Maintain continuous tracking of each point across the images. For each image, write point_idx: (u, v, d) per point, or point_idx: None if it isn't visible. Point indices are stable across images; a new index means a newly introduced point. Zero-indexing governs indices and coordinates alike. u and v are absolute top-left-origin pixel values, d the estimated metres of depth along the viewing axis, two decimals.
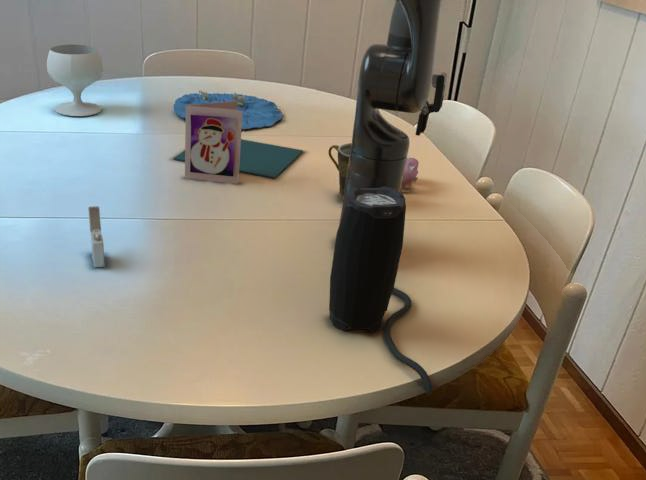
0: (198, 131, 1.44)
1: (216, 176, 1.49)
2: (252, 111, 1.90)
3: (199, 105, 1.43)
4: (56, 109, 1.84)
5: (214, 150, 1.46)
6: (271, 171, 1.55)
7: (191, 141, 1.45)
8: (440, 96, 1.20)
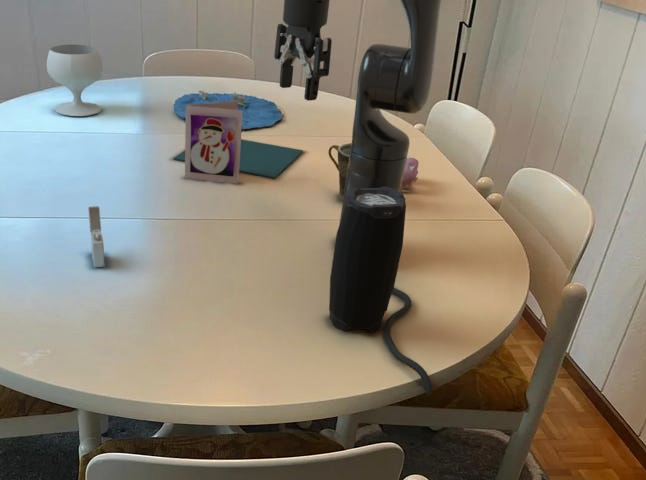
0: (198, 131, 1.44)
1: (216, 176, 1.49)
2: (252, 111, 1.90)
3: (199, 105, 1.43)
4: (56, 109, 1.84)
5: (214, 150, 1.46)
6: (271, 171, 1.55)
7: (191, 141, 1.45)
8: (317, 60, 1.18)
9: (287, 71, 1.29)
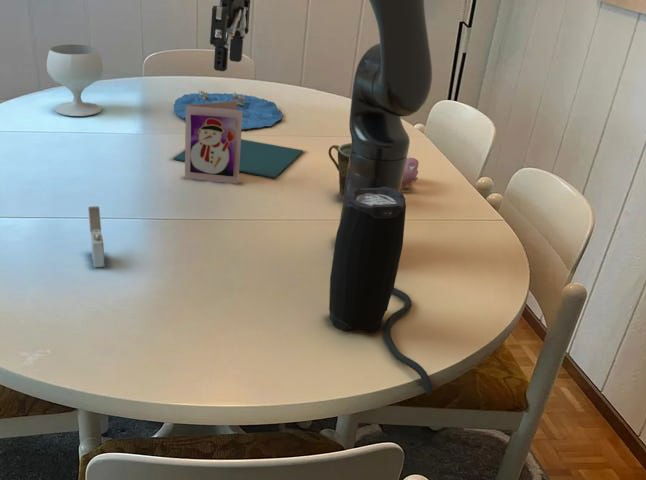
0: (198, 131, 1.44)
1: (216, 176, 1.49)
2: (252, 111, 1.90)
3: (199, 105, 1.43)
4: (56, 109, 1.84)
5: (214, 150, 1.46)
6: (271, 171, 1.55)
7: (191, 141, 1.45)
8: (211, 27, 1.19)
9: (235, 44, 1.30)
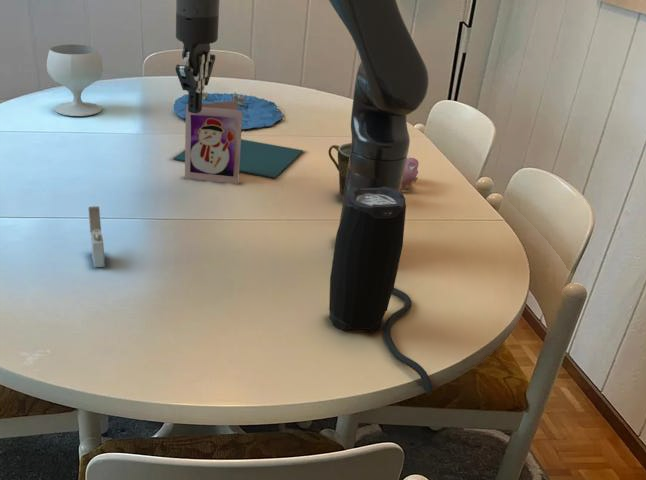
0: (198, 131, 1.44)
1: (216, 176, 1.49)
2: (252, 111, 1.90)
3: None
4: (56, 109, 1.84)
5: (214, 150, 1.46)
6: (271, 171, 1.55)
7: (191, 141, 1.45)
8: (180, 80, 1.28)
9: None
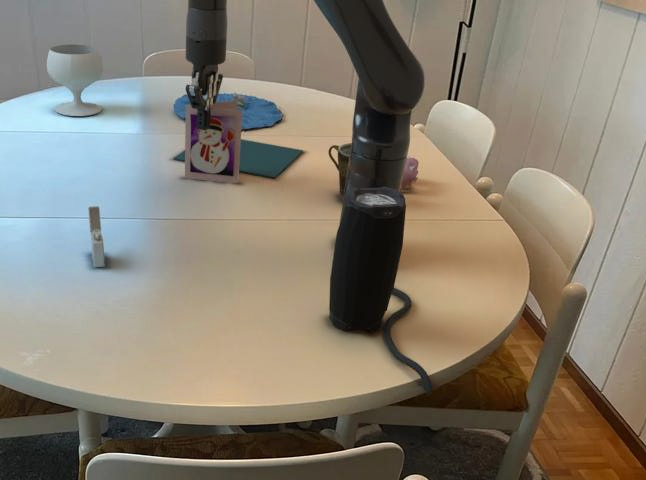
0: (198, 131, 1.44)
1: (216, 176, 1.49)
2: (252, 111, 1.90)
3: None
4: (56, 109, 1.84)
5: (214, 150, 1.46)
6: (271, 171, 1.55)
7: (191, 141, 1.46)
8: None
9: None
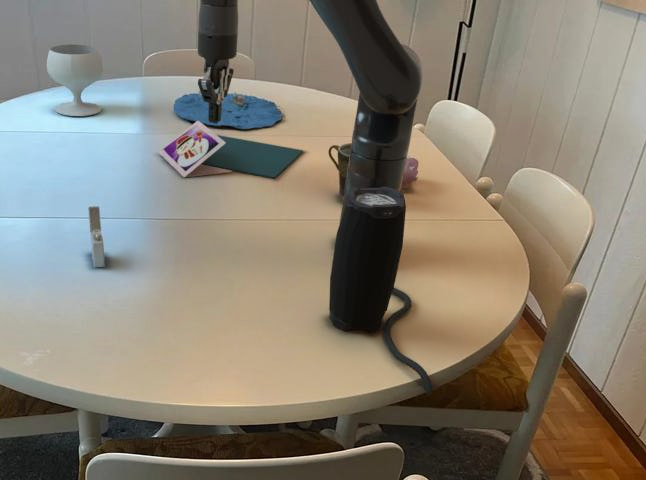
0: (176, 152, 1.58)
1: (207, 155, 1.51)
2: (252, 111, 1.90)
3: None
4: (56, 109, 1.84)
5: (194, 148, 1.55)
6: (271, 171, 1.55)
7: (174, 160, 1.56)
8: None
9: None
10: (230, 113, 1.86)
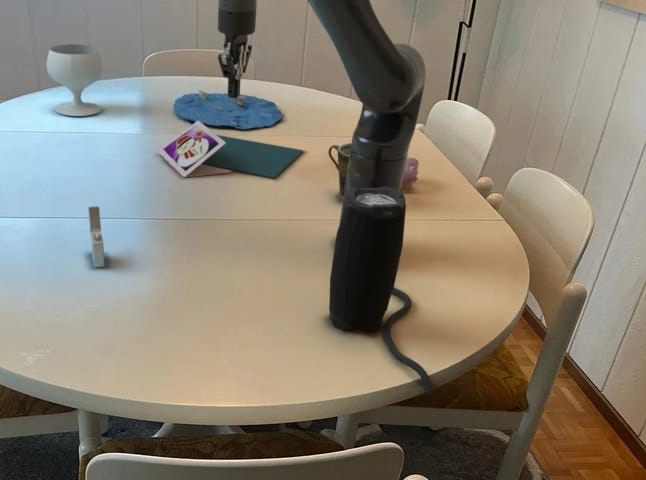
0: (176, 152, 1.57)
1: (207, 155, 1.51)
2: (252, 111, 1.90)
3: None
4: (56, 109, 1.84)
5: (194, 148, 1.55)
6: (271, 171, 1.55)
7: (174, 160, 1.56)
8: None
9: None
10: (230, 113, 1.86)
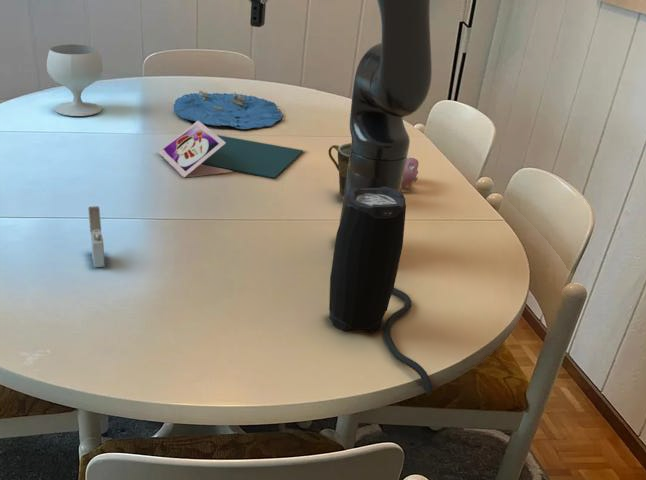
0: (176, 152, 1.57)
1: (207, 155, 1.51)
2: (252, 111, 1.90)
3: None
4: (56, 109, 1.84)
5: (194, 148, 1.55)
6: (271, 171, 1.55)
7: (174, 160, 1.56)
8: None
9: None
10: (230, 113, 1.86)
